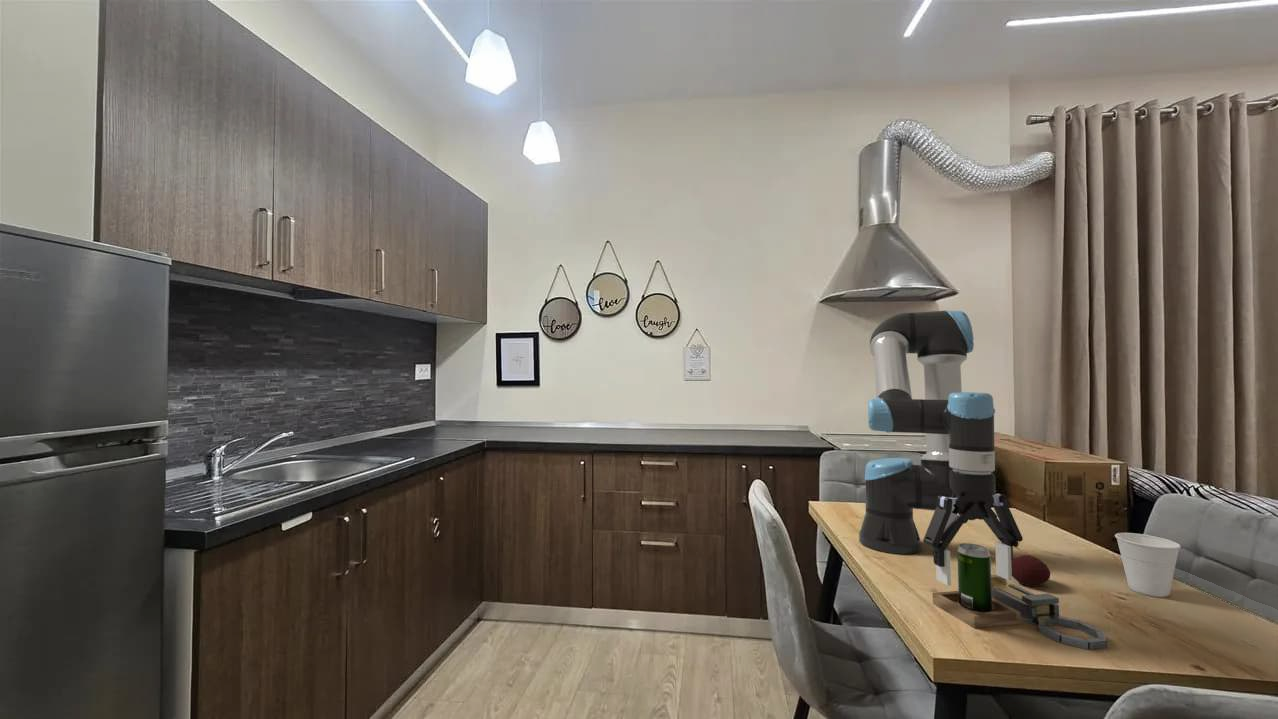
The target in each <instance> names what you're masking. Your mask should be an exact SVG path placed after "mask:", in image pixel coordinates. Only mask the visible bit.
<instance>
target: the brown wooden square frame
mask: <svg viewBox="0 0 1278 719" xmlns="http://www.w3.org/2000/svg"><path fill="white" fill-rule="evenodd" d="M932 604H933V605H935V606H936V607H938V608H940V609H942V610H943V611H945V612H947V613H948V614H950V615H952V616H954V617H955V618H957V619H958V620H960V621H961V622H963V623H965V624H967V625H969V626H970V627H971V628H973V629H981V628H990V627H991V628H992V627H1000V626H1011V625H1021V624H1022V618H1021V612H1019V611H1017V610H1015V609H1013V608H1011V607H1009V606H1007V605H1005V604H1003V603H1001V602H999V601H997V600H995V599H993V598H992V611H991V612H985V613H975V614H974V613H972V612H971V611H969V610H967V609H965V608H964V607H962V606H960V605H959V594H958V590H951V591H940V592H932Z"/></svg>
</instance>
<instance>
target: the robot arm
mask: <svg viewBox="0 0 1278 719" xmlns="http://www.w3.org/2000/svg"><path fill="white" fill-rule="evenodd" d="M973 332H974V331H973V326H972V323H971V321H970V318H969V317H968V315H967V314H966V313H965V312H964V311H962V310H946V309H945V310H936V311H935V310H934V311H919V312H918V311H917V312H915V311H914V312H900V313H896V314H894V315H891V316H890V317H888V318H886V319H884V320H883V321H882V322H880V324H878V325H877V327H876V328H875V329H874V331H873V332H872V334H871V336H870V340H869V350H870V353H871V354H872V357H874V373H875V374H874V375H875V376H874V380H875V396H876V397H875V398H870V399H869V400H868V401H867V411H868V413H867V415H868V416H867V417H868V420H867V421H868V428H869V429H870V430H872V431H876V432H886V433H903V434H904V433H906V434H907V433H908V434H926V453H925V454H924V455H922V457H920V464H914V462H913V461H912V459H910V458H906V457H885V458H877V459H873V460H872V459H871V460H870V461H868V462H867V463H866V465H865V472H864V473H865V475H864V479H863V480H864V481H865V514H864V517H863V520H862V523H861V528H860V530H859V533H858V537H859V540H858V541H859V543H860V544H861V545H863V546H865V547H866V548H870V549H872V550H876V551H879V552H884V553H889V554H890V553H891V554H901V555H902V554H903V555H904V554H906V555H907V554H915V553H919V552H921V550H922V541H923V543H924V544H925V545H928V546H929V547H932V550H933V553H932V554H933V564H934V565H935V569H936V571H935V572H936V574H935V575H936V577H935V578H936V581H937V582H939V583H941V584H944V585H945V586H949V587H950V586H951V585H952V578H951V577H952V575H951V574H952V572H951V570H952V567H951V550H949V549H947V548H948V547H949V545H950V544H951V542H952V541H953V540H954V538H955V537H956V535H957V533H958V532H959V530H960V529H961V528H962V526H963V525H964V524H966V523H968V521H975V520H981V521H983V522H984V523H985V524H986V526H988V528H989V529H990V530H991V531H992V533H993V534H994V535H995V537H996V538H997V539H998V541H995V575H998V576H1000V577H1002V578H1004V579H1006V581H1012V580H1013V577H1012V571H1011V561H1013V558H1014V548H1017V547H1018V546H1019V545H1020V543H1021V542H1023V538H1024V537H1023V535H1022V533H1021V531H1020V529H1019V526H1018V524H1017V522H1016V519H1015V518H1014V516H1013V513H1012V511H1011V509H1010V507H1009V501H1008V500H1009V499H1008V496H1007V495H1006V494H1005V495H1004V494H1000V493H997V492H996V491H997V490H996V488H997V487H996V485H997V484H996V482H997V481H996V475H995V474H994V473H993V472H995V471H996V456H995V453H996V450H995V414H996V409H995V408H994V397H993V396H992V395H991V394H990V393H987V392H970V391H969V392H965V391H964V392H963V390H962V371H961V370H962V368H961V367H962V366H961V365H962V364H963V362H965V361H966V360H967V358H968V357H967V356H968V355H967V354H969V353H973V350H974V346H975V344H974V333H973ZM907 354H916V355H917V362H919V363H920V364H921V365H923V372H924V373H923V375H924V376H923V377H924V399H922V398H920V399H919V398H917V399H916V398H913V396H912V389H911V383H910V382H911V381H910V376H909V368H908V361H907ZM992 507H993V509H994V510H993V509H992ZM914 509H915V510H924V511H933V514H932V517H931V520H930V522H929V524H928V526H927V527H928V528H927V529H926V533H925V534H924V537H923V539H921V538H920V535H919V532H918V529H917V527H916V522H915V521H914ZM921 540H922V541H921Z"/></svg>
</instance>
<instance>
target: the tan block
mask: <svg viewBox="0 0 1278 719" xmlns="http://www.w3.org/2000/svg"><path fill="white" fill-rule="evenodd" d="M991 586H993V587H995V588H997V589H999V590H1001V591H1004V592H1006V593H1008V594H1010V595H1012V596H1014V597H1016V598H1018V599H1020V600H1022V596H1026V594H1024V593H1022V592H1020V591H1017V590H1015V589H1013V588H1011V587H1009V586H1008V585H1007V580H1006V579H1004V578H1002V577H1000V576H998V575H996V574H991ZM1035 607H1037V621H1038V617H1042V616H1050V615H1049V605H1037V606H1035Z"/></svg>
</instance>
